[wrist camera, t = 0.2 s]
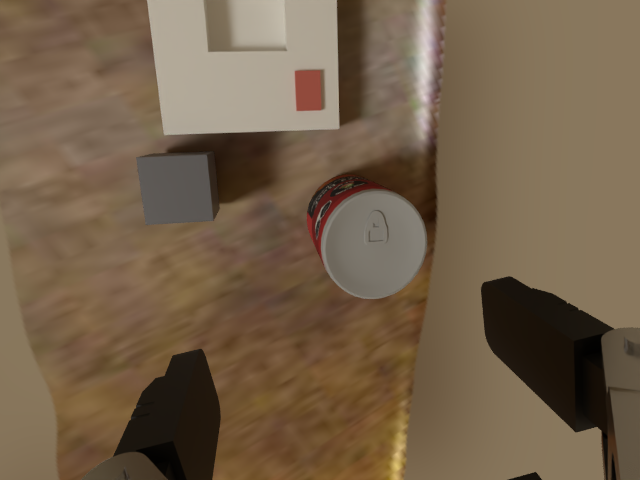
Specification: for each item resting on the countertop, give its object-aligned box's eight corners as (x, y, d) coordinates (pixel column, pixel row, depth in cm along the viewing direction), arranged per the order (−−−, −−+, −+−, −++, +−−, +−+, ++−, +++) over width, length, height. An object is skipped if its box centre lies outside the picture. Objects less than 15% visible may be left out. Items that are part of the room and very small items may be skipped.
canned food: (372, 162, 39) (413, 174, 28) (394, 240, 41) (439, 279, 31) (293, 188, 39) (306, 211, 28) (320, 266, 41) (340, 314, 30)
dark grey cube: (156, 153, 36) (136, 157, 30) (215, 150, 37) (206, 154, 31) (163, 209, 38) (145, 224, 32) (220, 206, 38) (213, 220, 32)
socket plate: (141, -115, 31) (127, -144, 28) (327, -109, 33) (335, -135, 30) (171, 134, 36) (162, 134, 33) (333, 128, 38) (340, 129, 34)
